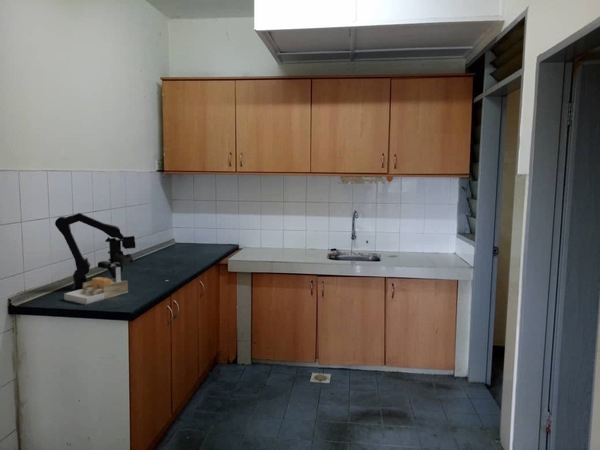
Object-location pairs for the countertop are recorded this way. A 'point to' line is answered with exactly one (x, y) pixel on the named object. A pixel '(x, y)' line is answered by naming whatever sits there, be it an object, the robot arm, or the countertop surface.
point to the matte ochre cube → (96, 281)
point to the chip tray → (82, 297)
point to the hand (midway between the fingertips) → (116, 277)
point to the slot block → (106, 289)
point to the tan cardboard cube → (104, 282)
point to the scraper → (117, 275)
